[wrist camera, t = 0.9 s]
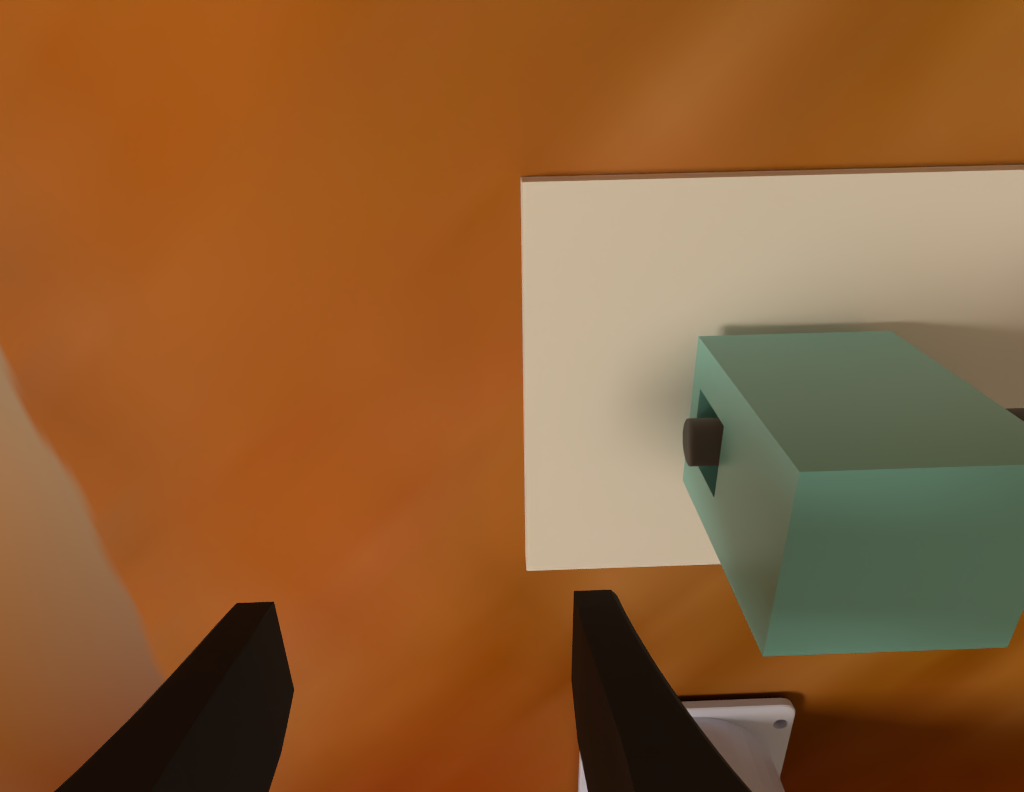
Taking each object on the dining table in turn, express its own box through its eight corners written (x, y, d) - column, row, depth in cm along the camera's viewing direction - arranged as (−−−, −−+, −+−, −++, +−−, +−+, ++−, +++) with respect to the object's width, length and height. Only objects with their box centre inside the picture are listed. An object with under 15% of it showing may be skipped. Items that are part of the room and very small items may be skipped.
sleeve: (855, 474, 20) (1007, 647, 14) (682, 480, 20) (762, 656, 14) (891, 330, 18) (1083, 462, 12) (698, 336, 18) (799, 471, 12)
